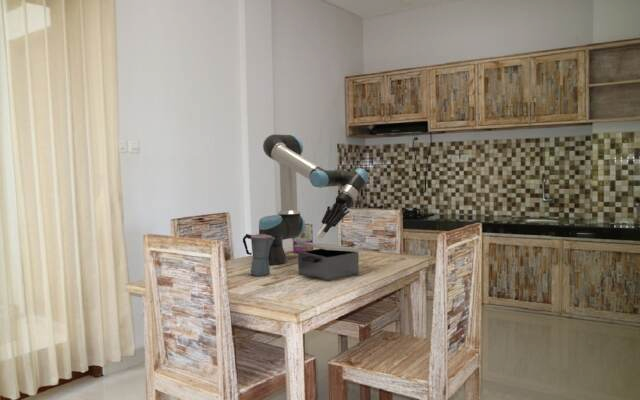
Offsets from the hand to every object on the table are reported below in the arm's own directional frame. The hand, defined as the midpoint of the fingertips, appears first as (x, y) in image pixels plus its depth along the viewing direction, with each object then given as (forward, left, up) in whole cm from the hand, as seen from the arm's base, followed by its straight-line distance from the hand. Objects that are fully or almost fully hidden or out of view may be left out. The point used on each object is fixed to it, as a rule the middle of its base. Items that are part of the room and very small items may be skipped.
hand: (319, 237), depth 214 cm
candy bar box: (-55, +33, -17) cm, 66 cm away
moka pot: (-22, -17, -17) cm, 33 cm away
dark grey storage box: (0, +4, -17) cm, 17 cm away
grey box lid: (0, +5, -5) cm, 7 cm away
